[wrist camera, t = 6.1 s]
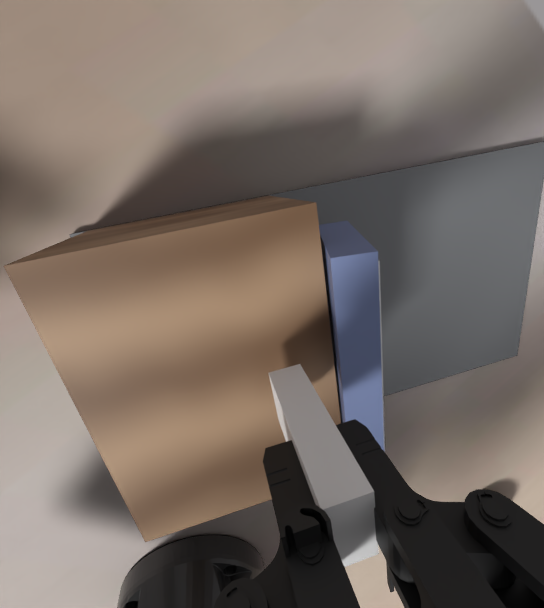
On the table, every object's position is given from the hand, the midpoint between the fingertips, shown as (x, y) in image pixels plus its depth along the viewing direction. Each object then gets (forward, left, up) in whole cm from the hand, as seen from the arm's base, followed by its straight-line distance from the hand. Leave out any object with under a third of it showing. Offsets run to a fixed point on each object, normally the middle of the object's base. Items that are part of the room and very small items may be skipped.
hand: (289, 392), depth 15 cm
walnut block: (0, +3, -11) cm, 12 cm away
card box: (0, -3, -3) cm, 5 cm away
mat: (-2, -8, -11) cm, 14 cm away
